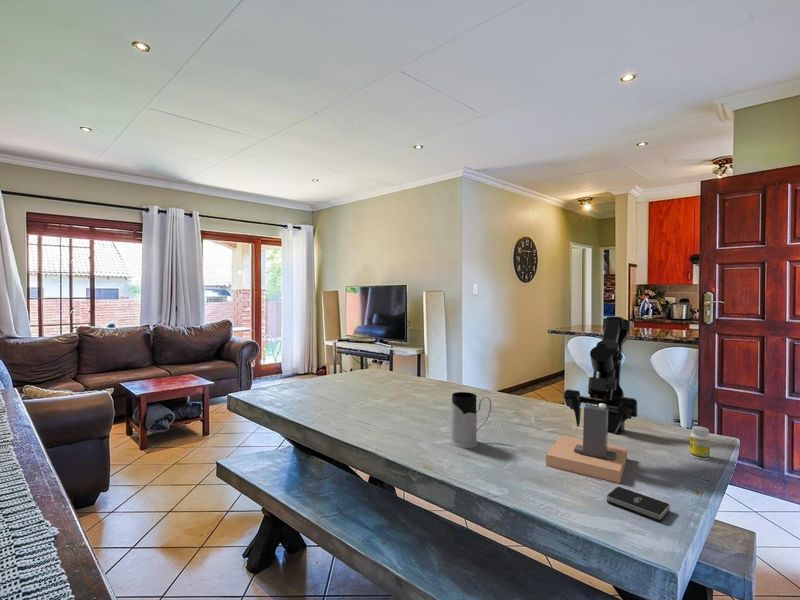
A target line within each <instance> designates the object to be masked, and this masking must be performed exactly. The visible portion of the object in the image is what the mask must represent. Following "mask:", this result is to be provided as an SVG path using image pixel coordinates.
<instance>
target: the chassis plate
mask: <svg viewBox="0 0 800 600" xmlns="http://www.w3.org/2000/svg"><path fill="white" fill-rule="evenodd" d="M576 445H582V446H583V438H577V437H572V436H567V435H563V434H562V435H560V437H558V439H557V440H556V441H555V442H554V444H553V445H552V447H551V448H550V449H549V451H548V452H547V453H546V455H545V466H546V467H547V466H548V467H551V468H555V469H556V468H557V469H559V470H563V471H568V472H571V473H572V472H573V473H576V474H580V475H585V476H589V477H593V478H595V479H596V478H597V479H600V480H606V481H609V482H613V483H616V484H617V483H618V484H620V483H621V480H622V477H623V474H624V471H625V467H626V464H627V461H628V448H627V447H623V446H617V445H612V444H608V443H607V451H611V452H616V457H615V460H610V459H607V460H602V459H598V458H593V457H588V456H584V455H583V454H582V453H577V452H574V448H575V447H576Z"/></svg>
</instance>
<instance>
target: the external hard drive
mask: <svg viewBox="0 0 800 600" xmlns="http://www.w3.org/2000/svg"><path fill="white" fill-rule="evenodd" d="M606 503H607V504H609V505H611V506H614V507H616V508H619V509H622V510H625V511H627V512H629V513H632V514H635V515H637V516H640V517H643V518H646V519H649V520H651V521H654V522H656V523H661V522H662V521H663V520H664V518H666V516H667V515H669V513H670V508H671V504H670V503H668V502H666V501H663V500H660V499H656V498H654V497H650V496H647V495H645V494H642V493H639V492H637V491H633V490H631V489H627V488H624V487H623V486H622V487H621V486H616V487H615V488H613V489H612V490H611V491H609V493H608V494H607V495H606Z"/></svg>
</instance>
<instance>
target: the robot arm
mask: <svg viewBox="0 0 800 600" xmlns="http://www.w3.org/2000/svg"><path fill="white" fill-rule="evenodd" d="M602 320H603V321H602V330H603V332H604V333H603V336H602V340H600V341H598V342H596V345H595V347H592V348H591V350H590V352H589V357H590V361H591V366H592V369H593V373H592V376H589V377H588V385H587V388H588V390H587V392H588V393H587V394H588V395H589V396H587V395H586V396H585V395H581V393H580V390H575V389H568V388H567V389H566V390H565V391H564V392H563V398H564V403H565V406H566V407H569V408H570V410H573V412H574V416H575V422H576V427H578V428H579V427H580V423H581V415H582V414H581V411H582V408H581V405H582V404H589V405H595V406H599V403H604V404H606V407H608V433H612V434H615V435H618V434H621V433H622V432H624V431H625V423H626V420H630V419H631V420H632V418H636V417H638V411H639V410H638V400H637V399H636V398H634V397H628V396H627V397H626V396H625V393H624V391H623V389H622V387H621V385H620V383H621V372H622V371H621V369H622V360H624V355H623V345H624V344H625V342H626V341H627V340H628V339H629V333H631V329H632V324H631V323H632V322H631V321H630V319H629V320H628V319H626V318H623V317H621V316H606V317H605V318H603V319H602Z"/></svg>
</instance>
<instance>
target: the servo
mask: <svg viewBox="0 0 800 600" xmlns="http://www.w3.org/2000/svg"><path fill="white" fill-rule="evenodd" d="M585 404H586V405H584V407H583V427H582V428H583V429H582V430H583V431H582V433H583V434H582V436H583V437H582V439H583V446H582V445H576V447H575V448H574V452H577V453H582V454H583V455H584V456H588V457H593V458H598V459H602V460H607V459H610V460H615V457H616V452H611V451H607V444H608V436H609V434H608V433H609V432H608V407H606V404H604V403H599V406H597V405H593V404H587V403H585Z"/></svg>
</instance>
